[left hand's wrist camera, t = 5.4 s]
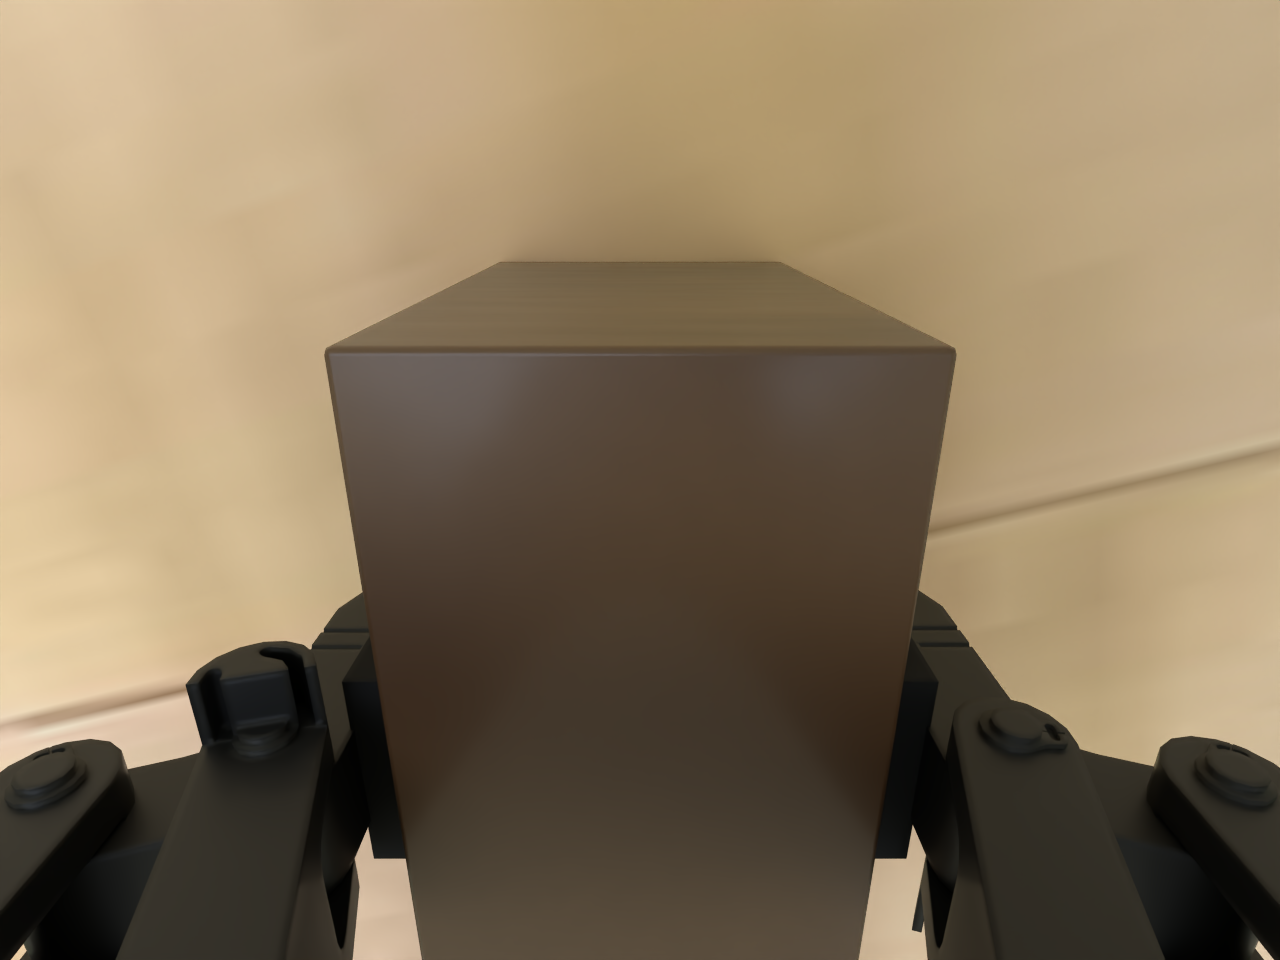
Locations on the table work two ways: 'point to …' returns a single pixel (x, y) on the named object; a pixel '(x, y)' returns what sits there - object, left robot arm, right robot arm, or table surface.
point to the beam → (640, 600)
